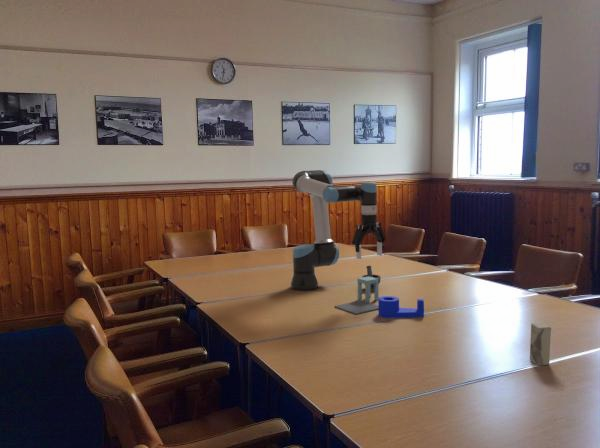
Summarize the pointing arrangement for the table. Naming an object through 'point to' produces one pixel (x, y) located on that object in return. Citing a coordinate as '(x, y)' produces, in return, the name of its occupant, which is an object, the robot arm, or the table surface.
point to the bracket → (391, 308)
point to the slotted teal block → (368, 288)
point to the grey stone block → (540, 343)
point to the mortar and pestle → (369, 273)
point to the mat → (358, 307)
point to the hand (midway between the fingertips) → (369, 256)
